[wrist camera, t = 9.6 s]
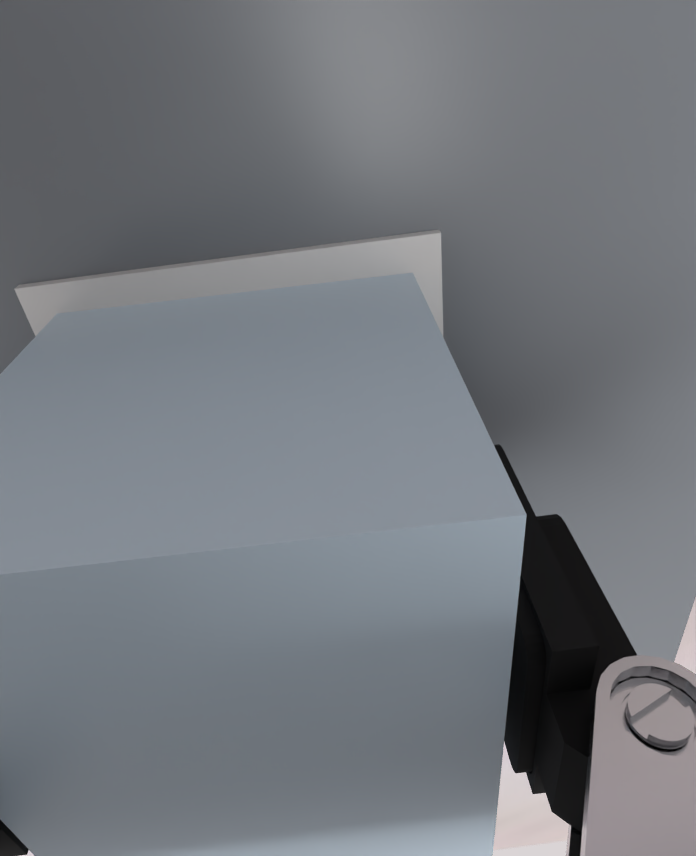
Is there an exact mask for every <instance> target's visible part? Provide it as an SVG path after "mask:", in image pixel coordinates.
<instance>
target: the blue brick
mask: <svg viewBox="0 0 696 856" xmlns="http://www.w3.org/2000/svg"><path fill="white" fill-rule="evenodd" d="M526 516H527V515H526V512H525V510H524V508H523V506H522V504H521V502H520V500H519V498H518V495H517V493H516V491H515V489H514V487H513V485H512V483H511V480H510V478H509V476H508V474H507V472H506V470H505V468H504V466H503V463H502V461H501V459H500V457H499V455H498V453H497V451H496V449H495V446H494V444H493V442H492V440H491V438H490V436H489V434H488V432H487V429H486V427H485V425H484V423H483V421H482V419H481V417H480V415H479V412H478V410H477V408H476V406H475V404H474V402H473V400H472V398H471V395H470V393H469V391H468V389H467V387H466V385H465V383H464V381H463V378H462V376H461V374H460V372H459V370H458V368H457V366H456V364H455V361H454V359H453V357H452V355H451V353H450V351H449V349H448V347H447V344H446V342H445V340H444V338H443V336H442V334H441V332H440V330H439V327H438V325H437V323H436V321H435V319H434V317H433V315H432V312H431V310H430V308H429V306H428V304H427V302H426V300H425V298H424V295H423V293H422V291H421V289H420V287H419V285H418V283H417V281H416V278H415V276H414V274H413V273H405V274H396V275H388V276H379V277H370V278H362V279H353V280H344V281H335V282H327V283H318V284H309V285H301V286H292V287H283V288H275V289H266V290H257V291H249V292H240V293H231V294H223V295H214V296H205V297H196V298H188V299H179V300H170V301H162V302H153V303H144V304H136V305H127V306H118V307H110V308H101V309H92V310H84V311H75V312H66V313H57V314H56V315H55V316H54V317H53V318H52V319H51V321H50V322H49V323H48V324H47V325H46V326H45V327H44V328H43V329H42V330H41V331H40V332H39V333H38V334H37V335H36V337H35V338H34V339H33V340H32V341H31V342H30V343H29V344H28V345H27V346H26V347H25V348H24V349H23V350H22V351H21V353H20V354H19V355H18V356H17V357H16V358H15V359H14V360H13V361H12V362H11V363H10V364H9V365H8V366H7V367H6V369H5V370H4V371H3V372H2V373H1V374H0V820H1V821H2V822H3V823H4V824H5V825H6V826H7V827H8V828H9V829H10V830H11V831H12V832H13V833H14V834H15V835H16V836H17V838H18V839H19V840H20V841H21V842H22V843H23V844H24V845H25V846H26V847H27V848H28V849H29V850H30V851H31V852H32V853H33V854H34V855H35V856H492V855H493V845H494V835H495V825H496V815H497V805H498V795H499V785H500V775H501V765H502V755H503V745H504V735H505V725H506V715H507V705H508V696H509V686H510V676H511V666H512V656H513V646H514V636H515V626H516V616H517V606H518V596H519V586H520V576H521V566H522V556H523V546H524V536H525V526H526Z"/></svg>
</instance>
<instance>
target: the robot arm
mask: <svg viewBox="0 0 696 856" xmlns="http://www.w3.org/2000/svg"><path fill="white" fill-rule="evenodd" d="M494 446H495V449H496V451H497V453H498V455H499V457H500V459H501V461H502V463H503V466H504V468H505V470H506V472H507V474H508V476H509V478H510V480H511V483H512V485H513V487H514V489H515V491H516V493H517V495H518V498H519V500H520V502H521V504H522V506H523V508H524V510H525V512H526V515H527V516H526V526H525V536H524V546H523V556H522V566H521V576H520V586H519V596H518V606H517V616H516V626H515V636H514V646H513V656H512V666H511V676H510V686H509V696H508V705H507V715H506V725H505V735H504V741H505V745H506V748H507V752H508V755H509V759H510V762H511V765H512V768H513V770H514V772H515V773H522V772H526V773H527V776H528V780H529V783H530V786H531V790H532V793H533V794H538V793H546V795H547V798H548V801H549V804H550V807H551V810H552V812H553V813H555V814H556V815H557V816H559V817H560V818H561V819H563V820H564V821H565V822H567V823H568V824H569V829H568V840H567V852H566V856H696V674H694V673H693V672H691V671H689V670H688V669H686V668H685V667H683V666H681V665H680V664H677V663H674V662H671V661H669V660H666V659H663V658H661V657H653V656H645V655H637V654H636V652H635V650H634V648H633V646H632V645H631V643H630V641H629V639H628V637H627V635H626V633H625V632H624V630H623V628H622V626H621V624H620V622H619V621H618V619H617V617H616V615H615V613H614V611H613V610H612V608H611V606H610V604H609V602H608V600H607V599H606V597H605V595H604V593H603V591H602V589H601V588H600V586H599V584H598V582H597V580H596V578H595V576H594V575H593V573H592V571H591V569H590V567H589V565H588V564H587V562H586V560H585V558H584V556H583V554H582V553H581V551H580V549H579V547H578V545H577V543H576V542H575V540H574V538H573V536H572V534H571V532H570V530H569V529H568V527H567V525H566V523H565V522H564V520H563V519H562V517H560V516H559V515H558V514H552V515H544V516H536V515H535V513H534V511H533V509H532V507H531V505H530V503H529V501H528V499H527V497H526V495H525V493H524V491H523V489H522V487H521V484H520V482H519V480H518V478H517V476H516V474H515V472H514V470H513V468H512V466H511V464H510V462H509V460H508V458H507V456H506V454H505V452H504V450H503V448H502V446H501V445H499V444H497V445H494ZM28 850H29V849H28V848H27V847H26V846H25V845H24V844H23V843H22V842H21V841H20V840H19V839H18V838H17V836H16V835H15V834H14V833H13V832H12V831H11V830H10V829H9V828H8V827H7V826H6V825H5V824H4V823H3V822H2V821H1V820H0V856H18V855H27V853H28Z"/></svg>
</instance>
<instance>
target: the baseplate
mask: <svg viewBox="0 0 696 856" xmlns="http://www.w3.org/2000/svg"><path fill="white" fill-rule="evenodd" d="M405 273H413V274H414V276H415V278H416V281H417V283H418V285H419V287H420V289H421V291H422V293H423V295H424V298H425V300H426V302H427V304H428V306H429V308H430V310H431V312H432V315H433V317H434V319H435V321H436V323H437V325H438V327H439V330H440V332H441V334H442V336H443V338H444V340H445V342H446V344H447V347H448V349H449V351H450V353H451V355H452V357H453V359H454V361H455V364H456V366H457V368H458V370H459V372H460V374H461V376H462V378H463V381H464V383H465V385H466V387H467V389H468V391H469V393H470V395H471V398H472V400H473V402H474V404H475V406H476V408H477V410H478V412H479V415H480V417H481V419H482V421H483V423H484V425H485V427H486V429H487V432H488V434H489V436H490V438H491V440H492V442H493V444H494V445H497V444H499V445H501V446H502V448H503V450H504V452H505V454H506V456H507V458H508V460H509V462H510V464H511V466H512V468H513V470H514V472H515V474H516V476H517V478H518V480H519V482H520V484H521V487H522V489H523V491H524V493H525V495H526V497H527V499H528V501H529V503H530V505H531V507H532V509H533V511H534V513H535V515H536V516H544V515H552V514H558V515H559V516H560V517H562V519H563V520H564V522H565V523H566V525H567V527H568V529H569V530H570V532H571V534H572V536H573V538H574V540H575V542H576V543H577V545H578V547H579V549H580V551H581V553H582V554H583V556H584V558H585V560H586V562H587V564H588V565H589V567H590V569H591V571H592V573H593V575H594V576H595V578H596V580H597V582H598V584H599V586H600V588H601V589H602V591H603V593H604V595H605V597H606V599H607V600H608V602H609V604H610V606H611V608H612V610H613V611H614V613H615V615H616V617H617V619H618V621H619V622H620V624H621V626H622V628H623V630H624V632H625V633H626V635H627V637H628V639H629V641H630V643H631V645H632V646H633V648H634V650H635V652H636V654H637V655H645V656H653V657H661V658H663V659H666V660H669V661H671V662H674V660H675V657H676V654H677V651H678V648H679V645H680V642H681V639H682V636H683V633H684V630H685V627H686V624H687V621H688V618H689V615H690V612H691V609H692V606H693V603H694V600H695V597H696V0H0V374H1V373H2V372H3V371H4V370H5V369H6V367H7V366H8V365H9V364H10V363H11V362H12V361H13V360H14V359H15V358H16V357H17V356H18V355H19V354H20V353H21V351H22V350H23V349H24V348H25V347H26V346H27V345H28V344H29V343H30V342H31V341H32V340H33V339H34V338H35V337H36V335H37V334H38V333H39V332H40V331H41V330H42V329H43V328H44V327H45V326H46V325H47V324H48V323H49V322H50V321H51V319H52V318H53V317H54V316H55V315H56V314H57V313H66V312H75V311H84V310H92V309H101V308H110V307H118V306H127V305H136V304H144V303H153V302H162V301H170V300H179V299H188V298H196V297H205V296H214V295H223V294H231V293H240V292H249V291H257V290H266V289H275V288H283V287H292V286H301V285H309V284H318V283H327V282H335V281H344V280H353V279H362V278H370V277H379V276H388V275H396V274H405Z"/></svg>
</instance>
